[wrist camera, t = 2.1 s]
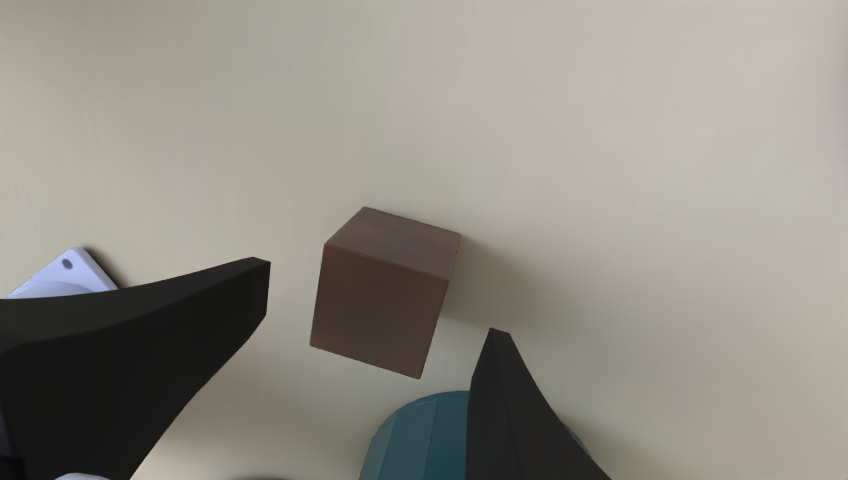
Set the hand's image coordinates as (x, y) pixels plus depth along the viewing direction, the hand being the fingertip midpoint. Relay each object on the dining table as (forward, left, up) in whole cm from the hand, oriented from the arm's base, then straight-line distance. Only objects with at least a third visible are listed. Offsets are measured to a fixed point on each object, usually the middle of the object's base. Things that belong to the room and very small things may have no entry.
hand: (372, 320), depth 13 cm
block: (0, 0, -4) cm, 4 cm away
